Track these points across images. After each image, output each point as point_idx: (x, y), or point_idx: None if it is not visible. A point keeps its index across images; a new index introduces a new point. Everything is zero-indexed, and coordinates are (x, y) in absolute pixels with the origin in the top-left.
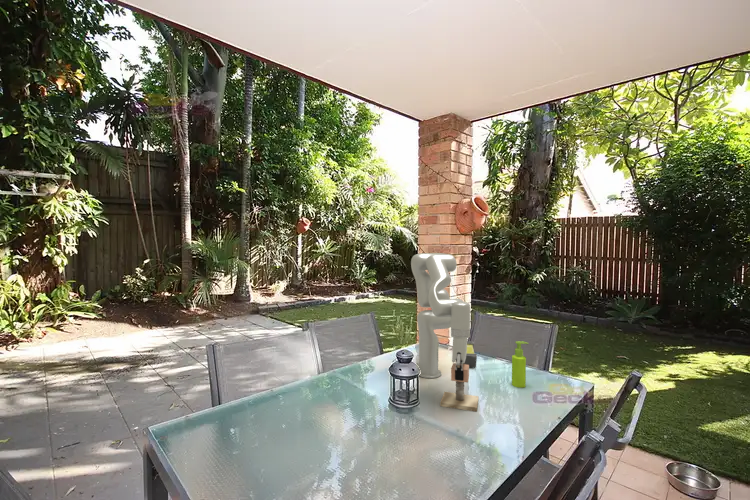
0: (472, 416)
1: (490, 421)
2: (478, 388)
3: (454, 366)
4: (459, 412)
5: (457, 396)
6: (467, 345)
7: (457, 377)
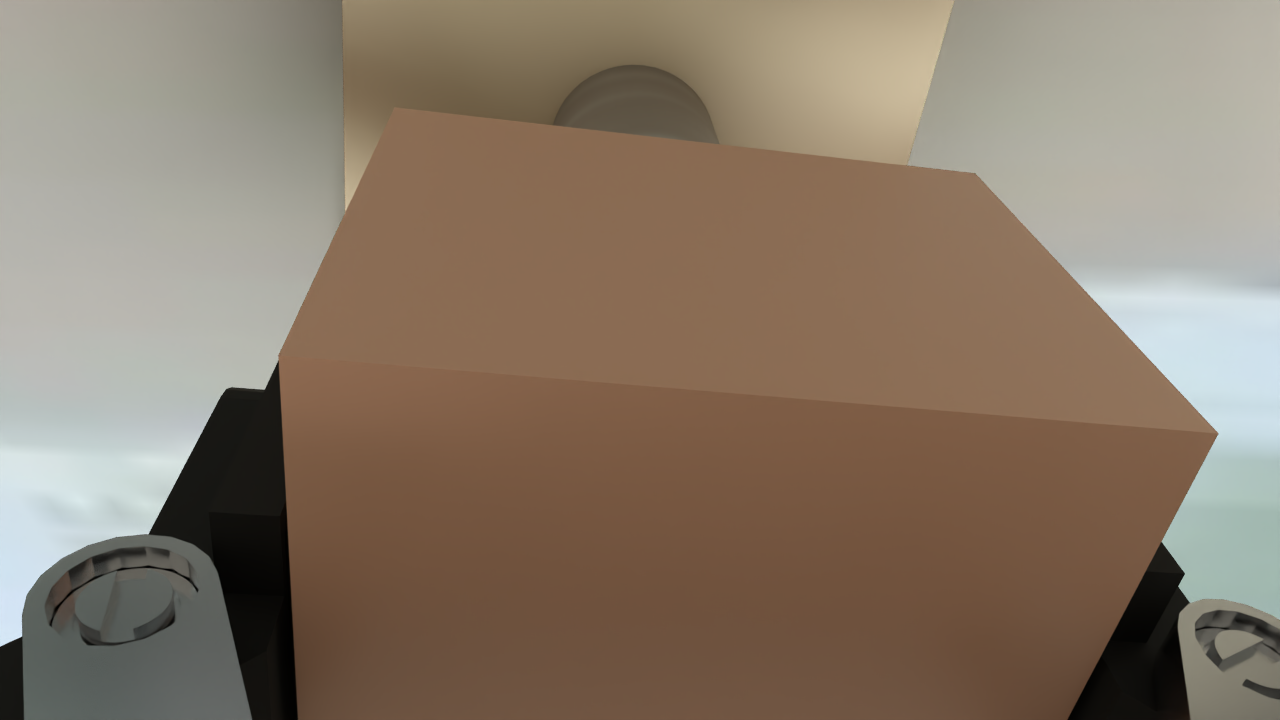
0: (158, 312)
1: (115, 525)
2: (1275, 436)
3: (615, 505)
4: (215, 107)
5: (564, 126)
6: None
7: (223, 409)
